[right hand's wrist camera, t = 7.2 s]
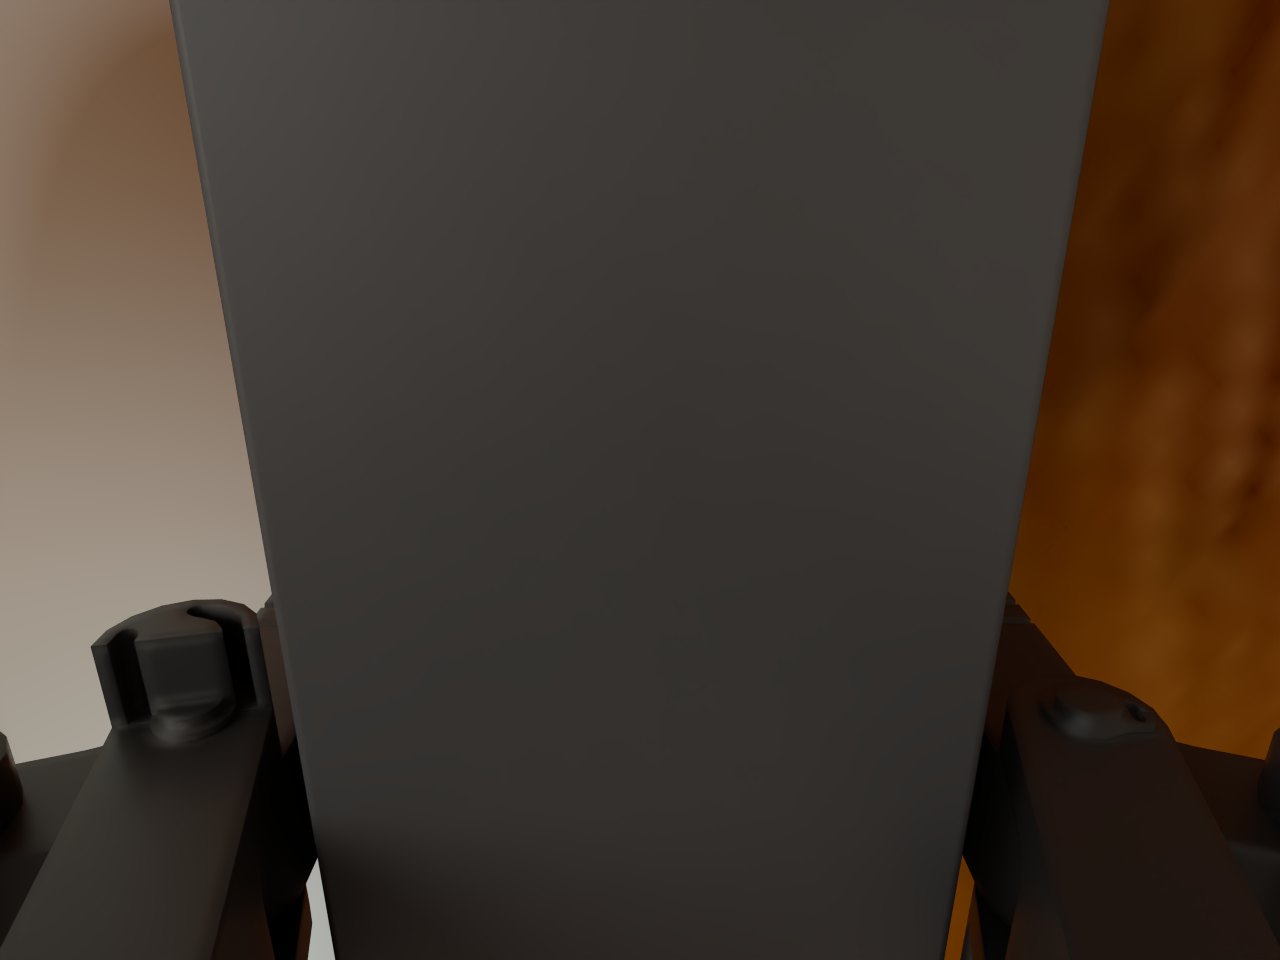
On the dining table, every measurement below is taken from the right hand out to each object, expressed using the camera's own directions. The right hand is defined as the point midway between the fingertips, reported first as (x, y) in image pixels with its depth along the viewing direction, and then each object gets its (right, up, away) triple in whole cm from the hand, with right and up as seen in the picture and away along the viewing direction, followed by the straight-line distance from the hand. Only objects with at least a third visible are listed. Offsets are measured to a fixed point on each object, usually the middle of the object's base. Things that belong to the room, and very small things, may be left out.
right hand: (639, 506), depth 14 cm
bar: (0, +7, -2) cm, 7 cm away
